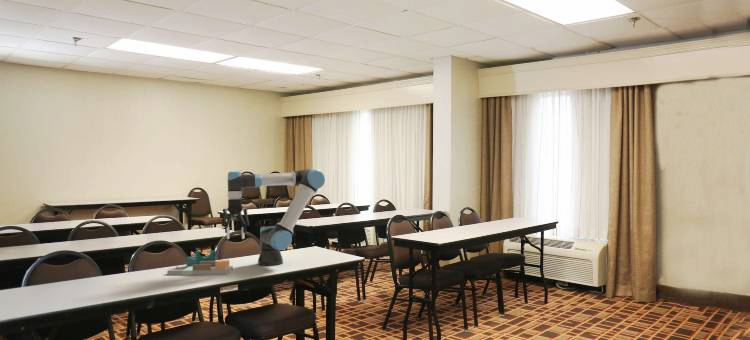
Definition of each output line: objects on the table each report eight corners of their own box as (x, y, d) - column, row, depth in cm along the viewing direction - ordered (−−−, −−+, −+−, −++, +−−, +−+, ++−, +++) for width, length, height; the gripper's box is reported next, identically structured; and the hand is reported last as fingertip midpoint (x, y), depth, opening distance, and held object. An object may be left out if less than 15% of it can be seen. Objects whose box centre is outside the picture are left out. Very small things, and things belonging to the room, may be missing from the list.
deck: (232, 270, 307) (232, 260, 306) (226, 274, 295) (225, 264, 294) (176, 270, 308) (176, 261, 308) (167, 275, 296) (167, 265, 296)
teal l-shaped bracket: (214, 268, 316) (215, 251, 316) (196, 269, 309) (197, 251, 310) (203, 264, 330) (205, 247, 331) (186, 265, 324) (187, 248, 324)
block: (229, 267, 304) (229, 260, 304) (225, 269, 298) (225, 262, 298) (219, 267, 304) (219, 260, 304) (215, 269, 298) (215, 262, 298)
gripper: (254, 197, 303) (255, 237, 303) (219, 198, 304) (220, 237, 304) (251, 198, 296) (251, 239, 296) (214, 199, 297) (215, 239, 297)
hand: (235, 238), depth 300 cm, fingers open, 8 cm apart
